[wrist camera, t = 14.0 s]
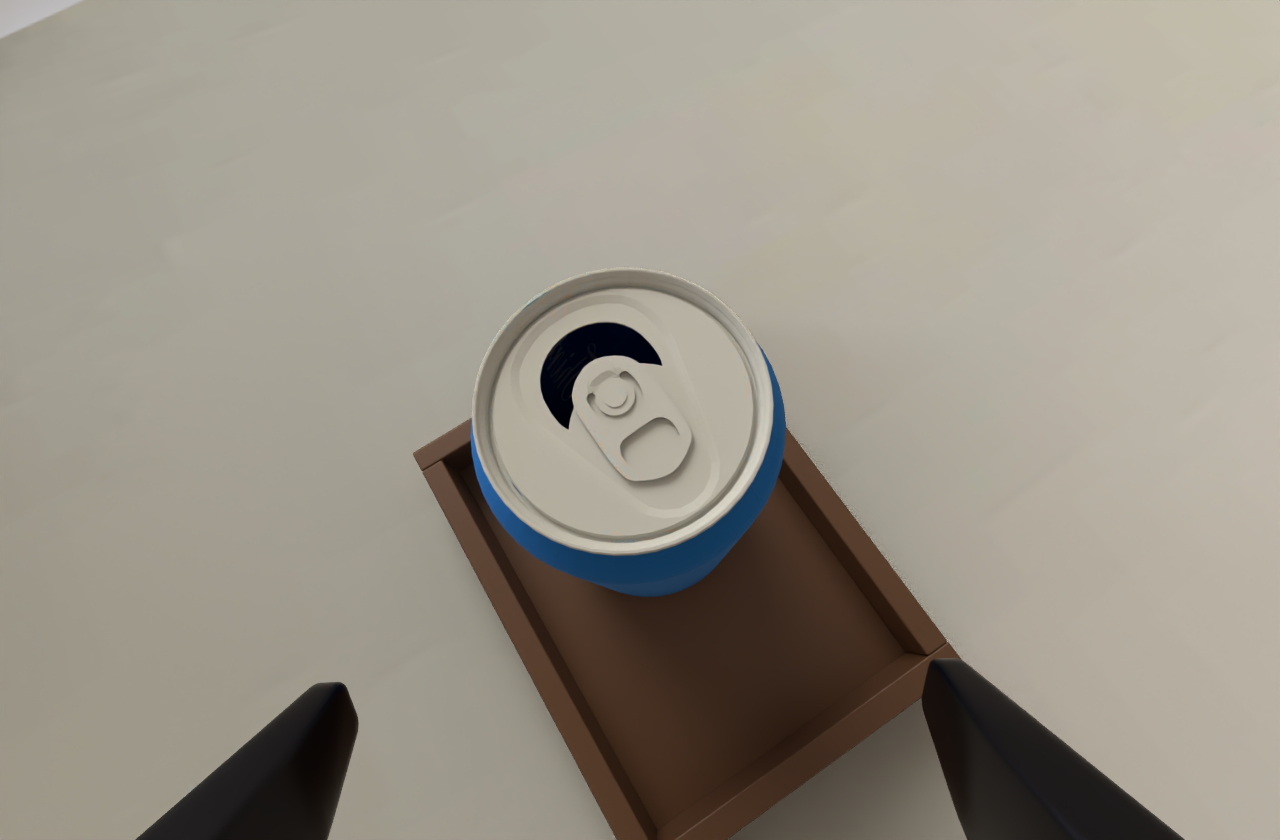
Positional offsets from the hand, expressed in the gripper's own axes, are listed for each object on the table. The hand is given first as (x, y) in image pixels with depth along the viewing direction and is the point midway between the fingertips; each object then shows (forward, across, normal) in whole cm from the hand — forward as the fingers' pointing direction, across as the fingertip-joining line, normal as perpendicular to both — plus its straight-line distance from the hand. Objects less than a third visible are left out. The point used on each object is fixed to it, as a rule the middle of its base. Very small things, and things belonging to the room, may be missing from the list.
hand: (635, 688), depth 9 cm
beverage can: (+12, 0, +5) cm, 14 cm away
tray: (+12, -1, +7) cm, 13 cm away
